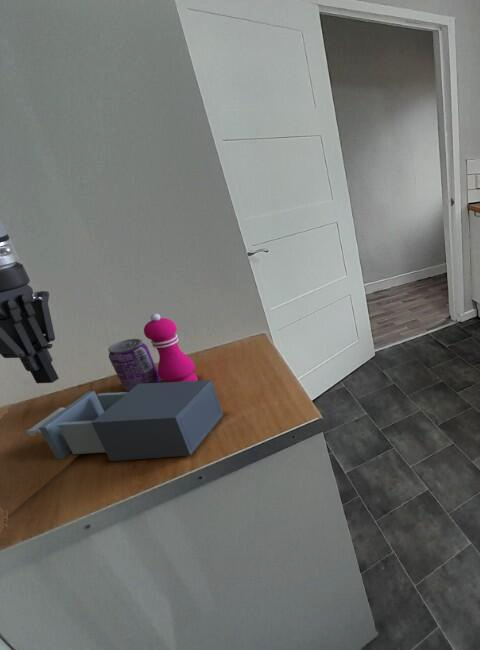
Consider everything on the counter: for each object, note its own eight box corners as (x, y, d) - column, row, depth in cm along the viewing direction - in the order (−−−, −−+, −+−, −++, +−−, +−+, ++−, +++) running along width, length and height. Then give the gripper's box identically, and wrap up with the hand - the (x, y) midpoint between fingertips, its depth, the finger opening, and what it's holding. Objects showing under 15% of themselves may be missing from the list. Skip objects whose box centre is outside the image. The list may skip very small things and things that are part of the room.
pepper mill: (165, 396, 99) (133, 324, 91) (164, 382, 104) (134, 312, 96) (201, 385, 103) (174, 315, 95) (198, 372, 108) (172, 304, 100)
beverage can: (161, 374, 107) (144, 334, 102) (162, 387, 102) (144, 346, 97) (125, 384, 103) (106, 343, 98) (125, 398, 98) (104, 356, 93)
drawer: (27, 461, 79) (8, 429, 76) (77, 421, 89) (62, 392, 86) (132, 454, 81) (118, 422, 78) (169, 416, 91) (158, 387, 88)
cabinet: (110, 461, 80) (90, 422, 76) (153, 419, 92) (138, 383, 88) (190, 455, 82) (175, 417, 78) (223, 415, 93) (211, 380, 89)
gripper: (-28, 279, 65) (38, 400, 74) (48, 255, 77) (96, 362, 86) (-82, 280, 64) (-9, 402, 74) (2, 255, 76) (56, 363, 85)
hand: (47, 380), depth 80 cm, fingers closed
